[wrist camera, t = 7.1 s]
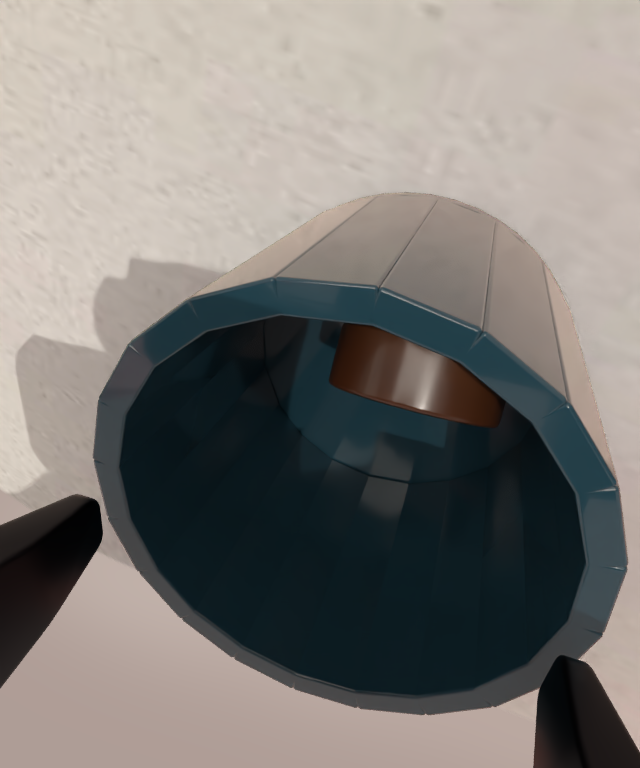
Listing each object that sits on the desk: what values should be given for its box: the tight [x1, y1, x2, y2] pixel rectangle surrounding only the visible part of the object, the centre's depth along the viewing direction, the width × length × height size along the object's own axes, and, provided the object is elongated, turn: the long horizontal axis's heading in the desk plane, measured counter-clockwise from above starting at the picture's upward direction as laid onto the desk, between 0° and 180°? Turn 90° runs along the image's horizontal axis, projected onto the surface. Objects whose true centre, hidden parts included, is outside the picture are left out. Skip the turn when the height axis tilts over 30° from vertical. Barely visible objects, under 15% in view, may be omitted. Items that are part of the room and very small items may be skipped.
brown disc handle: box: [329, 323, 506, 428], centre depth 12 cm, size 7×3×1 cm
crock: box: [93, 192, 628, 715], centre depth 13 cm, size 10×10×8 cm
